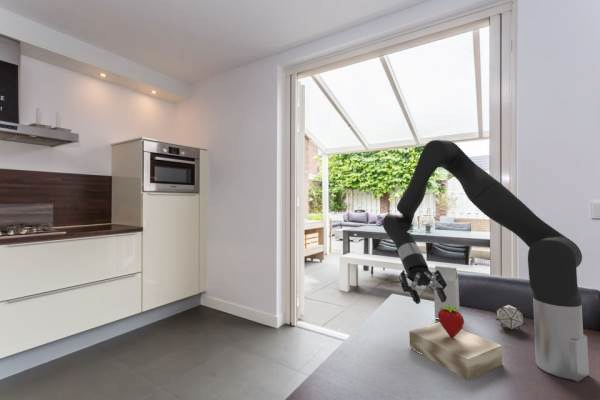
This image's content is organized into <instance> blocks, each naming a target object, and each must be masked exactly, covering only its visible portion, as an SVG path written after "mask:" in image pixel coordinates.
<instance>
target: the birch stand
mask: <svg viewBox="0 0 600 400" xmlns="http://www.w3.org/2000/svg"><path fill="white" fill-rule="evenodd" d="M408 335H409V348H410V347H411V348H413V349H415V350H416V351H418V352H420V353H422V354H423V355H422V354H421V355H422V356H424V355H425V356H427V357H428V358H427V357H426V358H427V359H429V358H430V359H429V360H431V359H432V360H431V361H433V362H434V361H435V362H434V363H436V364H439V365H440V366H442V367H444V368H445V369H447V370H449V371H451V372H453V373H455V374H457V375H458V376H459V377H462V378H464V380H467V381H470V380H473V379H474V378H477V377H478V376H479V377H480V376H481V375H483V374H486V373H488V372H489V371H492V370H494V369H496V368H498V367H500V366H503V353H502V352H503V348H502V346H503V345H502V344H500V343H496V342H494V341H492V340H489V339H487V338H484V337H481V336H479V335H477V334H474V333H471V332H468V331H466V330H464V329H461V330H460V332H459V333H458V334H457V335H456V336H455V337H454V338H452V337H450V336H449V335H448V333H447V332H446V331H445V329H444V328H443V326H442V325H441V323H440V321H439V322H435V323H432V324H428V325H425V326H422V327H421V326H420V327H419V328H414V329H411V330H409V333H408ZM411 348H410V349H411ZM413 349H412V350H413ZM416 351H415V352H416ZM418 352H417V353H418ZM420 353H419V354H420ZM425 356H424V357H425Z"/></svg>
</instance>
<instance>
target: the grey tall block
mask: <svg viewBox="0 0 600 400" xmlns="http://www.w3.org/2000/svg"><path fill="white" fill-rule="evenodd" d="M436 270H438V271H439V272H440V273H441V275H442V277H443V279H444V280H445V282H446V284H447V286H446V287H445V289H444V290H443V291H444V293H445V295H446V297H447V298H446V301H445V302H441V300H440V298H439V296H438V294H437V291H436V290H435V289H433V298H434V302H433V303H434V318H435V317H436V318H438V313H439V311H440V310H441V309H439V308H446V306H449V305H450V307H457V308H455V309H458V310H461V309H460V288H459V286H460V285H459V275H458V271H457V267H449V266H441V265H435V268H434V272H436ZM435 280H436V279H435ZM435 286H436V285H435ZM447 302H448V303H449V304H448V303H447ZM457 312H459V313H460V314H461V312H460V311H457Z"/></svg>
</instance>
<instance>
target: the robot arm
mask: <svg viewBox="0 0 600 400" xmlns="http://www.w3.org/2000/svg"><path fill="white" fill-rule="evenodd" d="M438 168H442V169H444V170H446V171H447V172H449V174H451V175H452V176H453V177H454V178H455V179H456V180H457V181H458V182H459V184H460V185H461V187H462V189H463V192H464V193H465V196H466V197H467V199H468V200H469V201H470V202H471V203H472V204H473V206H475V207H476V208H477V209H478V210H479V211H480V212H482V214H484V215H485V216H486V217H488V218H489V219H491V220H492V221H493V222H495V223H497V224H498V225H500V226H501V227H504V228H505V229H507V230H509V231H510V232H511V233H513V234H515V235H516V236H517V237H518V238H519V239H520V240H521V241H522V242H523V243H524V244H526V246H527V247H528V248H529V249H528V253H527V268H528V280H529V286H530V289H531V291H532V304H533V326H534V329H533V330H534V345H535V346H534V348H535V349H534V351H535V365H537V367H538V368H540V370H542V371H544V372H546V373H548V374H551V375H553V376H555V377H559V378H563V379H567V380H572V381H574V382H578V383H579V382H580V381H581V380H584V378H586V377H588V376H589V375H590V370H589V368H590V367H589V350H588V348H589V347H588V336H587V335H586V334H584V327H583V326H584V325H583V307H582V306H583V304H582V302H583V301H582V293H581V291H579V286H578V276H577V271H578V270H577V268H578V267H579V266H580V265H581V264H582V261H583V255H582V251H581V249H580V248H579V246H578V244H577V243H575V242H574V241H572V240H571V239H570V238H568V237H567V236H565V235H564V234H562V233H561V232H560V231H558V230H556V229H555V228H553V227H552V226H551V225H549V224H548V223H547V222H546V221H544V220H542V219H541V218H540V217H539V216H537V215H536V214H535V213H534V212H533V211H532V210H531V209H530V208H529V207H528V206H527V205H526V204H525V203H524V202H522V200H521V199H520V198H518V197H517V196H516V195H515V194H514V193H513V192H511V191H510V189H508V187H506V186H504V185H503V184H502V183H501V182H500V181H498V180H497V179H496V178H494V177H493V176H492V175H491V174H489V173H488V172H487V171H485V170H484V168H481V167H480V166H479V165H478V164H476V162H474V161H473V160H472V159H471V158H470V157H469V156H468V155H467V154H466V153H465V152H464V151H463V150H462V148H460V146H459V145H458V144H457V143H456V142H453V141H451V140H445V139H432V140H430V141H428V142H427V143H426V144H425V146H424V147H423V149H422V151H421V153H420V156H419V158H418V161H417V164H416V165H415V168H414V170H413V172H412V176H411V179H410V181H409V183H408V185H407V187H406V189H405V190H404V192H403V194H402V196H401V198H400V199H399V201H398V203H397V205H396V210H397V211H398V212H399V213H400V214H401V215H398V214H392V213H391V214H386V215H385V216H384V217H383V220H382V227H383V229H384V231H385V234H387V236H388V237H389V239H390V240H391V241H392V242H393V243H394V245H395V247H396V250H397V252H398V256H399V259H400V262H401V265H402V266H403V269H404V270H405V272H404V271H401V272H400V273H399V276H398V278H399V283H400V285H401V288H402V291H403V292H405V293H406V292H407V293H409V294H410V296H411V298H412V300H413V302H414V303H415V305H416V304H417V305H419V304H420V303H421V298H420V296H419V293H418V291H417V290H416V288H417V286H418V287H422V286H424V287H429V288H431V289H433V290H434V289H435V290H436V291H437V294H438V296H439V298H440V300H441V302H445V301H446V298H447V297H446V295H445V293H444V291H443V290H444V289H445V287H446V286H447V284H446V282H445V280H444V279H443V277H442V275H441V273H440V272H439V271H438V270H436V272H435V271H430V269H429V266H428V263H427V261H426V259H425V257H424V255H423V253H422V251H421V249H420V248H419V246H418V245H417V242H416V240H415V238H414V236H413V235H412V234H411V232H409V231H410V230H411V227H412V225H413V220H414V217H415V213H416V212H417V211H418V209H419V207H420V205H421V204H422V202H423V200H424V198H425V195H426V192H427V191H426V190H427V185H428V182H429V180H430V178H431V176H433V174H435V173H434V172H436V170H437V169H438ZM435 279H436V280H435ZM408 280H409V281H411V283H410V285H409V283H408ZM435 285H436V286H435Z"/></svg>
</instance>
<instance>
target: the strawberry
mask: <svg viewBox="0 0 600 400" xmlns="http://www.w3.org/2000/svg"><path fill="white" fill-rule="evenodd" d="M447 303H448V302H447ZM448 304H449V303H448ZM455 308H457V307H450V305H449V306H446V308H439V309H441V310H440V311H439V313H438V318H439V320H438V321H439V322H440V323H441V325H442V326H443V328H444V329H445V331H446V332H447V333H448V335H449V336H450V337H452V338H454V337H455V336H456V335H457V334H458V333H459V332H460V330H463V327H464V323H465V320H464V316H463V315H462V313H461V312H460V313H459V312H457V311H460V310H461V309H460V310H458V309H455Z"/></svg>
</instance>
